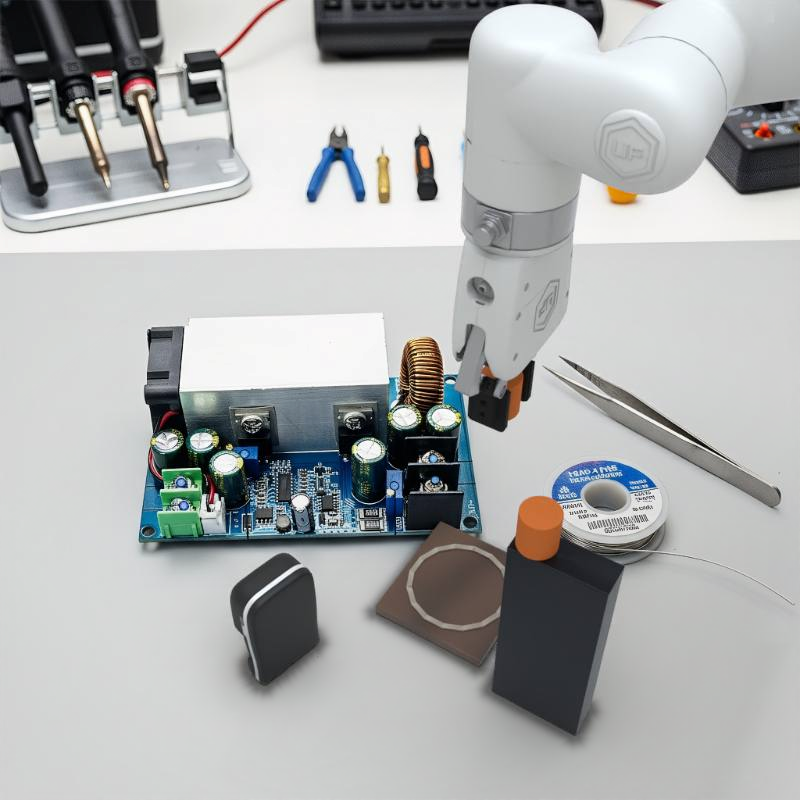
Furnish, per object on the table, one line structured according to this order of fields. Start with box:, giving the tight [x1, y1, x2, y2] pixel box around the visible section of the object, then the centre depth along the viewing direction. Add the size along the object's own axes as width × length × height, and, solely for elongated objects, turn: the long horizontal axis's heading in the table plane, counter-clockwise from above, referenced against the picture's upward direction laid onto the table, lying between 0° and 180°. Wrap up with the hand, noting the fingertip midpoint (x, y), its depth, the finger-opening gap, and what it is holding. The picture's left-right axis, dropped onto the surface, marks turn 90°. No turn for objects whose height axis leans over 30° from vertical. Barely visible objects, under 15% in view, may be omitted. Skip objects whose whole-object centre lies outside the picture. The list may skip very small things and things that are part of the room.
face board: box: [375, 521, 507, 668], centre depth 93 cm, size 11×12×1 cm
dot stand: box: [491, 534, 626, 736], centre depth 79 cm, size 8×3×20 cm, turn 58°
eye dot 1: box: [481, 365, 523, 422], centre depth 76 cm, size 3×3×4 cm
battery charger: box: [229, 552, 321, 685], centre depth 85 cm, size 7×4×11 cm, turn 134°
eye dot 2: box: [514, 495, 565, 561], centre depth 71 cm, size 3×3×4 cm
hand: (499, 406), depth 77 cm, fingers closed on eye dot 1, 3 cm apart
